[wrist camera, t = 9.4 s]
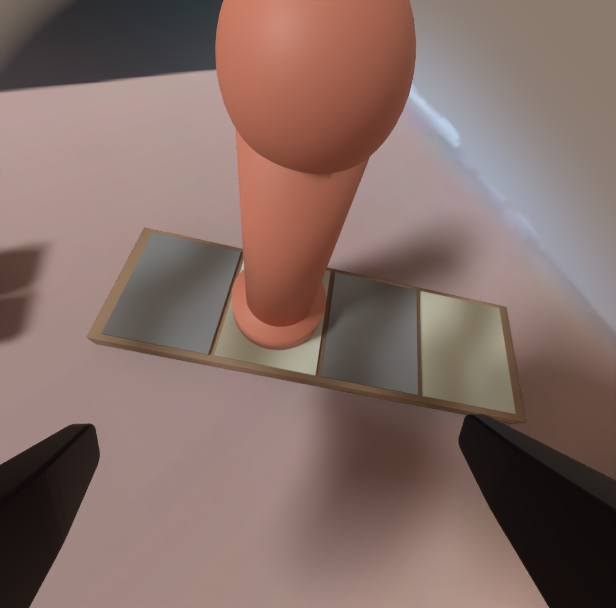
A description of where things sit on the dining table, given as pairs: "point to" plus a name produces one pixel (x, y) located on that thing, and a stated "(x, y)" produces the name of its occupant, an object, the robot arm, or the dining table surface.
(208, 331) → the board
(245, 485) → the dining table surface
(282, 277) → the pawn
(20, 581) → the robot arm
